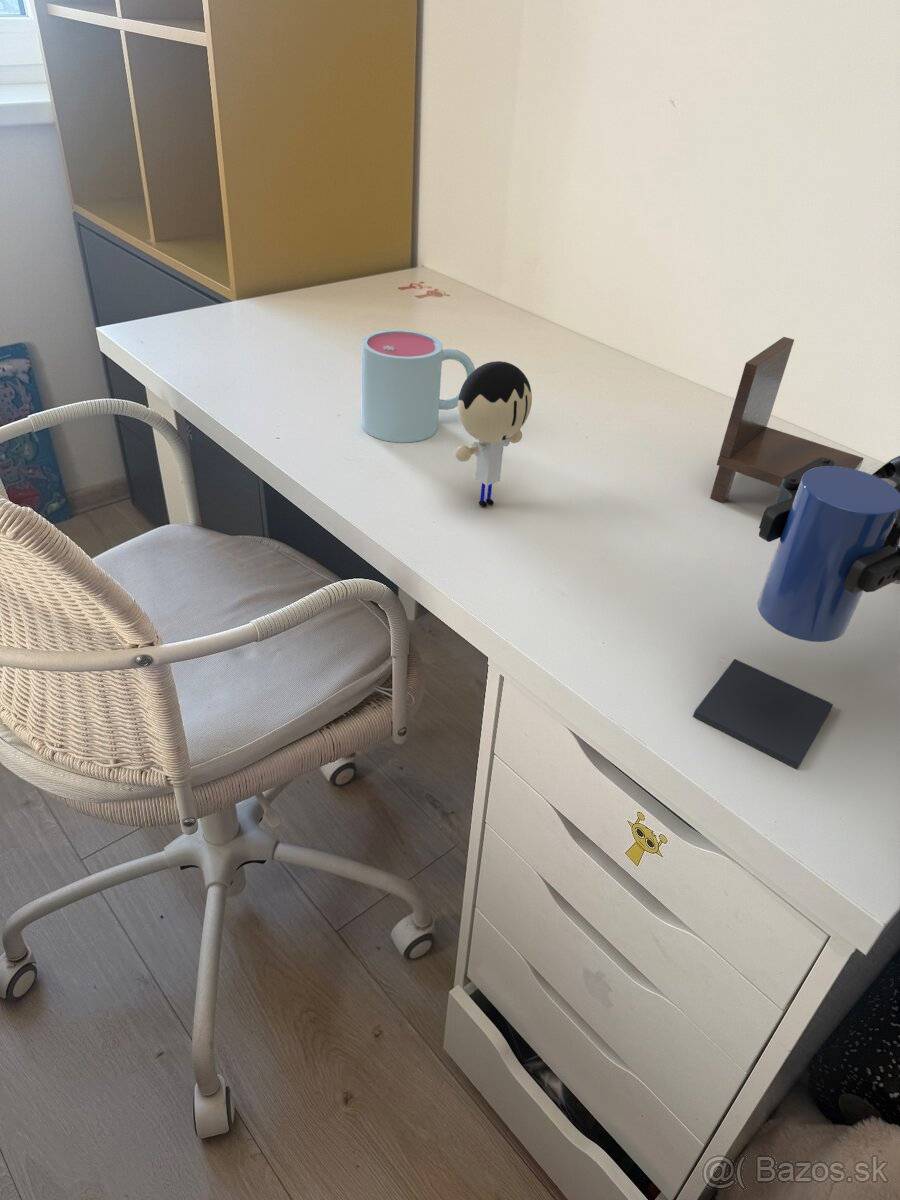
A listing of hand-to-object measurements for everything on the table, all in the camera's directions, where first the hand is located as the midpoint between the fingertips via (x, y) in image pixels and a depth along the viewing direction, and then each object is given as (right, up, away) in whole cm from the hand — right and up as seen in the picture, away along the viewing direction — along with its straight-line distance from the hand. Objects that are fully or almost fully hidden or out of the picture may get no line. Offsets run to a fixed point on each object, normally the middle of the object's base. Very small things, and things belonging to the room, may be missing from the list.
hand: (808, 551), depth 53 cm
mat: (+1, -12, +10) cm, 16 cm away
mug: (-27, +18, +48) cm, 57 cm away
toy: (-19, +7, +33) cm, 39 cm away
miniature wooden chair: (+13, +8, +38) cm, 41 cm away
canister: (+2, -4, +5) cm, 6 cm away
